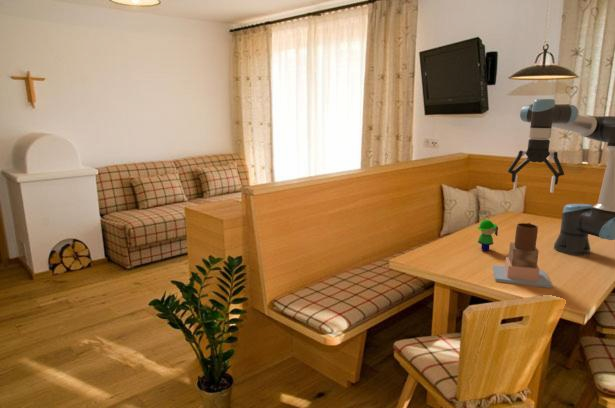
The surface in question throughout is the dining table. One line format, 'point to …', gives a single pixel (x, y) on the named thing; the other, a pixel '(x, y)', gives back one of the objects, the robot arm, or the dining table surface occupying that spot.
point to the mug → (526, 236)
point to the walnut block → (523, 257)
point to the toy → (487, 234)
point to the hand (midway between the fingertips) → (532, 191)
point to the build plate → (519, 281)
